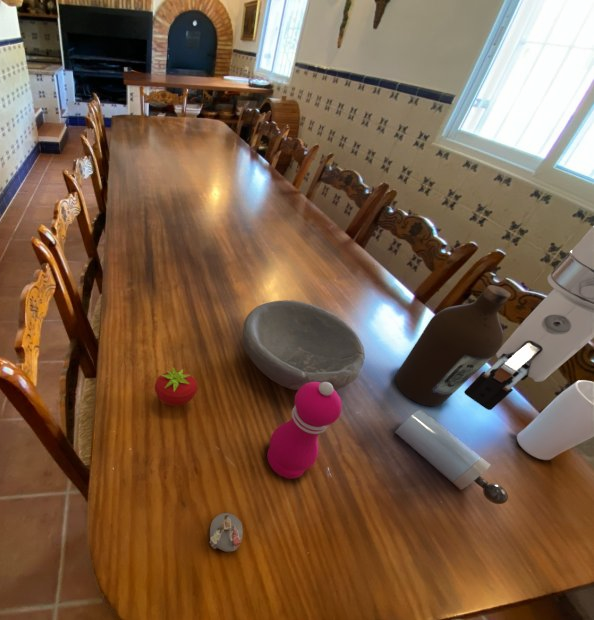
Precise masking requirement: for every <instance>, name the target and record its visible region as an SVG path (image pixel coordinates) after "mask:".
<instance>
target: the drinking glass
mask: <svg viewBox="0 0 594 620" xmlns="http://www.w3.org/2000/svg"><path fill="white" fill-rule="evenodd" d="M592 438H594V381H591V380H586V379H582V380H580V379H579V380H577V381H575V382H574V383H572V384H571V385H569V386H568V387H567V388H565V389H564V390H563V391H561V392H560V393H559V394H558V395H557V396H556V397H555V398H553V400H552V401H551V402H550V403H549V404H548V405H546V406H545V408H544V409H543V410H541V412H540V413H539V414H537V416H535V418H533V419H532V421H530V423H528V424H527V426H526V427H524V428H523V429H522V430H521V431H519V432H518V433H517V435H516V441H517V444H518V445H519V446H520V448H521V449H522V450H523V451H524V452H525V453H527V454H528V455H530V456H531V457H533V458H536V459H538V460H543V461H550V460H552V459H554V458H556V457H557V456H559V455H560V454H563V453H564V452H566V451H568V450H570V449H573V448H574V447H577V446H578V445H581V444H582V443H584V442H587V441H588V440H590V439H592Z"/></svg>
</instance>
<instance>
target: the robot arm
mask: <svg viewBox="0 0 594 620" xmlns="http://www.w3.org/2000/svg"><path fill="white" fill-rule="evenodd" d="M546 280H547V283H548V284H549V285H550V286H551V287H552V288H553V289H552V290H551V291H550V292H549V293H548V294H547V295H546V296H545V298H543V300H542V301H541V302H540V303H539V304H538V305H537V306H536V307H535V308H534V309H533V310H532V312H531V313H529V315H528V316H527V317H526V318H525V319H524V320H523V321H522V323H521V324H519V326H518V327H517V328H516V329H515V330H514V331H513V332H512V333H511V335H510V336H509V337H508V339H507V340H506V341H505V342H504V343H503V344H502V345H501V347H500V349H499V351H498V352H497V353H496V355H495V356H496V359H497V361H496V362H495V363H494V364H493V365H491V366H490V367H489V369H488V370H486V371H485V370H484V371H482V372H481V374H480V375H478V377H477V378H475V380H474V381H473V382H472V383H470V385H468V386H467V388H466V389H465V390H464V391H463V392H464V395H466V396H467V397H468V398H470V399H471V400H472V401H474V402H476V403H477V404H478V405H480V406H481V407H483V408H484V409H486V410H488V411H491V410H493V409H494V408H495V407H496V406H497V405H498V404H499V403H501V402H502V401H503V400H504V399H505V398H506V397H507V396H508V395H510V394H511V393H512V392H513V391H514V389H513V387H514V386H515V385H516V384H517V383H519V382H520V381H524V380H526V379H527V378H530V379H532V380H533V381H534V382H536V383H537V382H539V383H541V382H544V381H545V380H546V379H547V378H548V377H549V376H551V375H552V374H553V373H554V372H555V371H557V370H558V369H559V368H560V367H561V366H562V365H564V363H566V362H567V361H568V360H569V359H571V358H572V357H573V356H574V355H575V354H577V353H578V352H579V351H580V350H581V349H583V348H584V347H585V346H586V345H587V344H588V343H589V342H590V341H592V340H593V339H594V225H593V226H592V227H591V228H590V230H588V232H587V233H585V235H584V236H583V237H582V238H581V239H580V240H579V241H578V242H577V243H576V244H575V246H574V247H573V248H572V249H571V250H570V251H569V252H568V253H567V254H566V256H565V257H564V258H563V259H562V260H561V261H560V262H559V263H558V264H557V265H556V266H555V268H553V270H552V271H551V272H550V273H549V274H548V275H547V277H546Z"/></svg>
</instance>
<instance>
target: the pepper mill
mask: <svg viewBox="0 0 594 620" xmlns="http://www.w3.org/2000/svg"><path fill="white" fill-rule="evenodd" d="M342 409H343V404H342V400H341V397H340V395H339V393H338V392H337V391H336V390H334V389H333V386H332V385H331V384H330V383H329V382H323V383H320V382H310V383H307V384H305V385H303V386H302V387H301V388H300V389H299V390H297V391H296V393H295V396H294V406H293V408H292V410H291V417H292V418H291V419H290V420H288V421H286V422H284V423H281V424H280V425H279V426H277V427H276V428H275V429H274V430H273V432H272V434H271V436H270V441H269V447H268V450H267V453H266V456H267V457H266V459H267V461H268V464H269V466H270V467H271V469H272V470H273V472H275V473H276V474H277V475H278V476H281V477H282V478H285V479H290V480H291V479H292V480H293V479H298V478H300V477H301V476H303V474H304V473H305V472H306V470H309V469H310V468H311V467H313V466H314V464H315V463H316V461H317V459H318V456H319V448H320V447H319V441H318V437H319V434H322V433H324V432H325V431H326V430H327V429H328V427H329V426H330V425H332V424H334V423H335V422H336V421H337V420H338V419H339V418H340V416H341V413H342Z"/></svg>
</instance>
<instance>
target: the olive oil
mask: <svg viewBox="0 0 594 620" xmlns="http://www.w3.org/2000/svg"><path fill="white" fill-rule="evenodd" d="M511 296H512V294H511V293H510V292H509V291H508V290H507V289H505V288H503V287H501V286H498V285H493V284H491V285H488V286H487V287H486V288H485V290H484V291H482V292H481V293H480V294H479V295H478V297H477V298H476V299H475V301H474V302H471V303H464V304H459V305H454V306H448V307H445V308H444V309H442V310H440V311H438V312H437V313H435V315H434V316H432V317H431V319H430V321H429V322H428V323H427V325H426V326H425V328H424V330H423V331H422V333H421V335H420V336H419V337H418V340H417V341H416V342H415V344H414V346H413V347H412V349H411V350H410V352H409V354H407V356H406V358H405V360H404V361H403V362H402V364H401V366H400V367H399V368H398V370H397V371H396V373H395V375H394V382H395V385H396V386H397V388H398V389H399V391H400V392H401V393H402V394H403V395H404V396H406V397H407V398H408V399H410V400H411V401H413V402H415V403H417V404H420V405H423V406H427V407H438V406H441V405H442V404H444V403H445V402H446V401H447V400H448V399H449V398H451V396H452V395H453V394H454V393H456V392H457V391H458V390H459V389H461V387H462V386H463V385H464V384H465V383H466V382H467V381H468V380H469V379H470V378H472V376H474V375H475V374H476V373H477V372H478V371H479V370H480V369H482V368H483V367H484V366H485V365H486V364H487V363H488V362H489V361H490V360H491V359H493V358H494V357H495V356H496V353H497V352H498V351H499V349H500V348H501V347H502V346H503V342H504V330H503V327H502V325H501V322H500V320H499V317H498V312H499V311H500V310H501V309H502V308H504V306H505V305H506V303H507V301H508V300H509V299H510V298H511Z"/></svg>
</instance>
